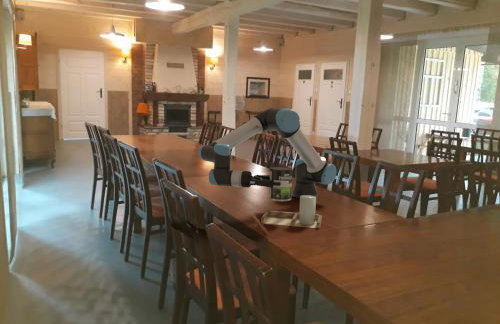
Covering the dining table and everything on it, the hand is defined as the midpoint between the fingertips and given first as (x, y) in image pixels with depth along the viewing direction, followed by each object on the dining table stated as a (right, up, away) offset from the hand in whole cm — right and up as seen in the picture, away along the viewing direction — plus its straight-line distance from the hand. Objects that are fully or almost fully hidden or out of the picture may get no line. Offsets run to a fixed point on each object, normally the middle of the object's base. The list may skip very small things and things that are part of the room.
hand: (290, 182), depth 177 cm
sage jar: (+8, -18, +1) cm, 20 cm away
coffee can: (-4, -8, +2) cm, 9 cm away
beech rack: (+1, -19, +3) cm, 20 cm away
